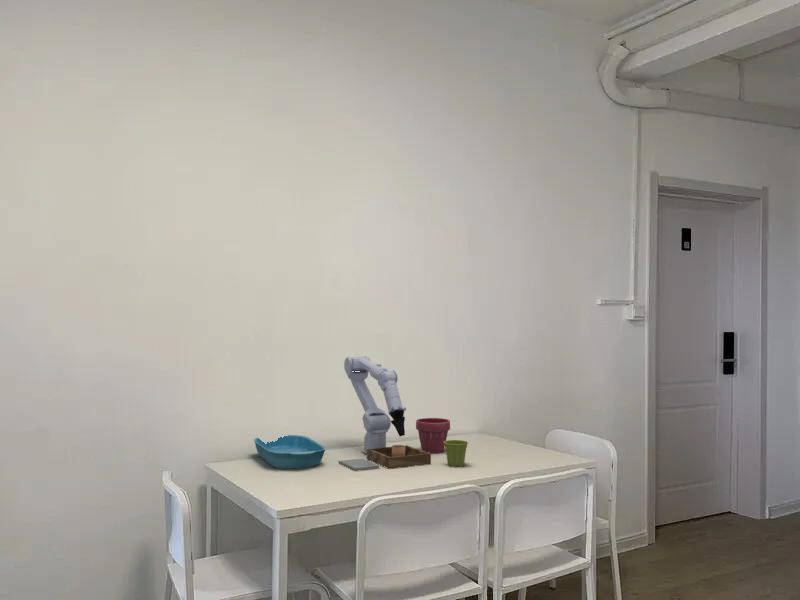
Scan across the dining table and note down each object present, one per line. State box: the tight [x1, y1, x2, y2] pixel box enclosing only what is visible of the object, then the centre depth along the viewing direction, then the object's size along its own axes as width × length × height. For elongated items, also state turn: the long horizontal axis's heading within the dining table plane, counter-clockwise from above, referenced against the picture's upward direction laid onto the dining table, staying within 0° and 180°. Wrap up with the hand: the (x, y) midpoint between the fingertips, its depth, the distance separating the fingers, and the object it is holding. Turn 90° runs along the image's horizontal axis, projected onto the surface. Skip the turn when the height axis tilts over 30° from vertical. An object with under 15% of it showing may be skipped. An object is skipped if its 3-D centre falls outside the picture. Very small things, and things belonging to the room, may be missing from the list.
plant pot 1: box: [415, 417, 451, 454], centre depth 300 cm, size 14×14×13 cm
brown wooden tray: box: [366, 445, 432, 469], centre depth 279 cm, size 18×18×4 cm
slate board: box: [338, 458, 380, 472], centre depth 270 cm, size 14×10×1 cm
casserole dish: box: [253, 434, 326, 470], centre depth 278 cm, size 37×22×7 cm, turn 26°
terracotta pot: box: [391, 444, 405, 457], centre depth 279 cm, size 5×5×6 cm
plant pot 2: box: [444, 439, 469, 467], centre depth 275 cm, size 9×9×9 cm
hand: (401, 432), depth 276 cm, fingers open, 7 cm apart
